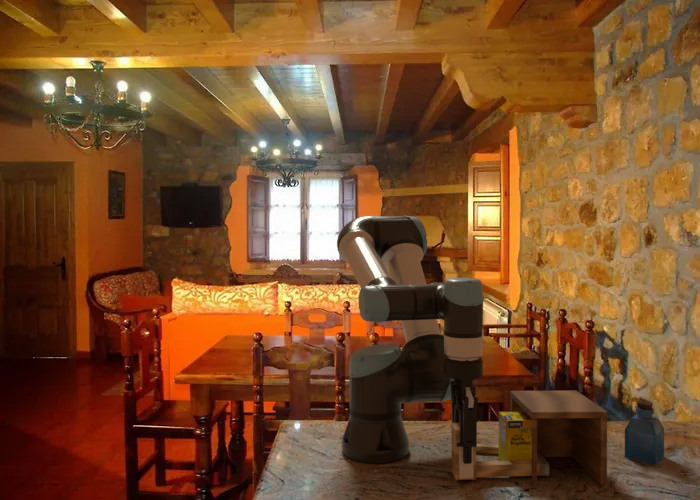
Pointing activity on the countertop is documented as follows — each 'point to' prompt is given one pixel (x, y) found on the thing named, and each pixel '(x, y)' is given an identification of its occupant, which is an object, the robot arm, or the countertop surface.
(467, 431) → the robot arm
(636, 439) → the perfume bottle
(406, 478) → the countertop surface
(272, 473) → the countertop surface
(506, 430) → the supplement box
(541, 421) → the walnut box
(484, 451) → the plain oak stick
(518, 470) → the oak crook
